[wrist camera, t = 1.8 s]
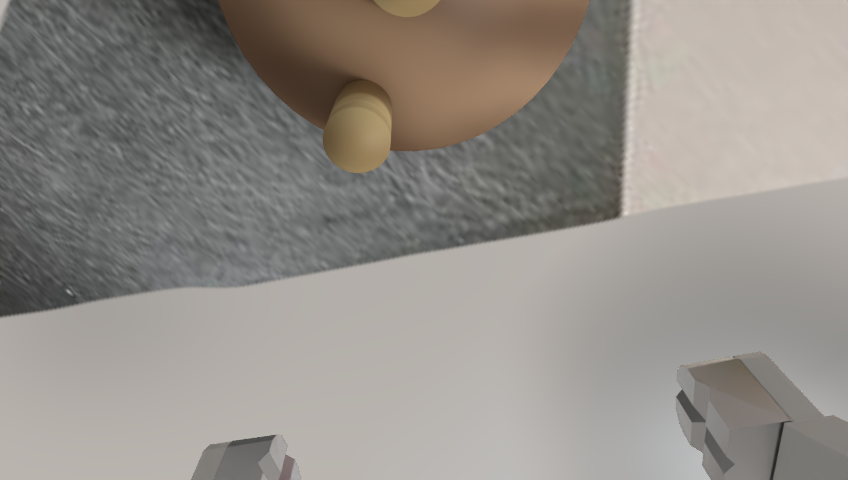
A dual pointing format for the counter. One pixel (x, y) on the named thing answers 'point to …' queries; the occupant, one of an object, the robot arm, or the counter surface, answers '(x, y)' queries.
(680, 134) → the counter surface
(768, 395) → the robot arm
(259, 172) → the counter surface
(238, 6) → the handwheel
